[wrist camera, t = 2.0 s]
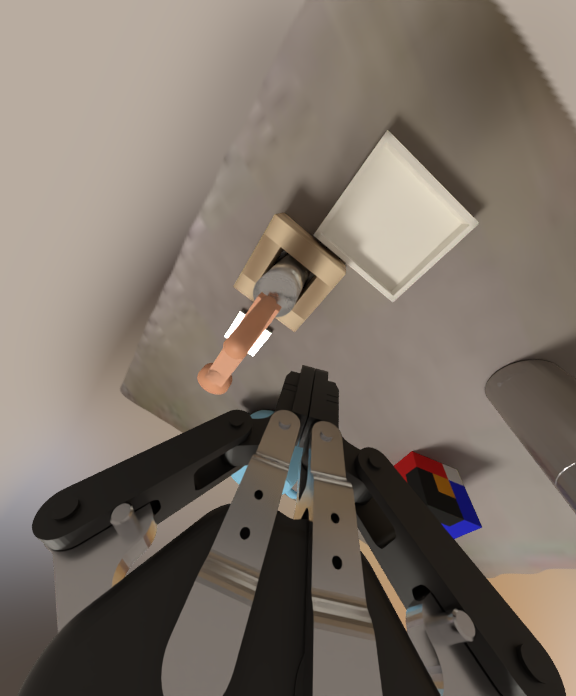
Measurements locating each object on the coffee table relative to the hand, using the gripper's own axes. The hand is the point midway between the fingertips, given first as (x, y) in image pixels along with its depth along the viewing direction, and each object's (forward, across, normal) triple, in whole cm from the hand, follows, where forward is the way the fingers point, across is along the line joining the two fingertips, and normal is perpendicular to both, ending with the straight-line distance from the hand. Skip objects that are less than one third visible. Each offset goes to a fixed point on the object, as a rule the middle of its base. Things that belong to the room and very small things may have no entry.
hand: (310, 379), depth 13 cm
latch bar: (+10, +8, +7) cm, 15 cm away
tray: (+22, -5, -7) cm, 24 cm away
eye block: (+22, +5, 0) cm, 23 cm away
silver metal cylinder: (+22, +5, 0) cm, 23 cm away
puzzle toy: (+22, -30, +35) cm, 51 cm away
